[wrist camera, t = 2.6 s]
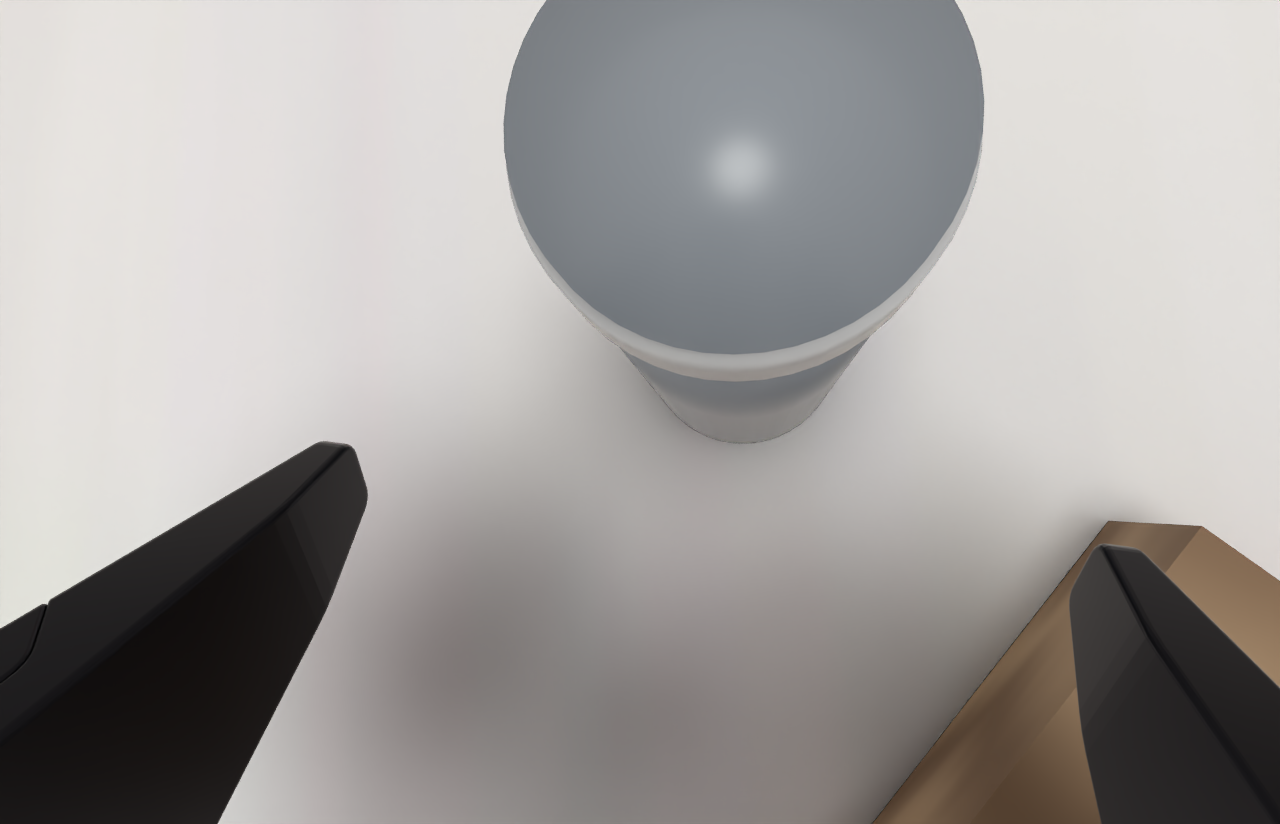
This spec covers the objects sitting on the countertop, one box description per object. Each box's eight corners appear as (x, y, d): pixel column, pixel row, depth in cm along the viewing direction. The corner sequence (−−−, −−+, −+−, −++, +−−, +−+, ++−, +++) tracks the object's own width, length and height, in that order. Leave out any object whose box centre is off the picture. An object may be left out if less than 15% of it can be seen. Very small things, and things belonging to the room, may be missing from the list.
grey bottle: (760, 486, 20) (782, 461, 8) (609, 369, 21) (401, 169, 8) (880, 333, 20) (1104, 48, 8) (725, 222, 21) (692, -200, 8)
